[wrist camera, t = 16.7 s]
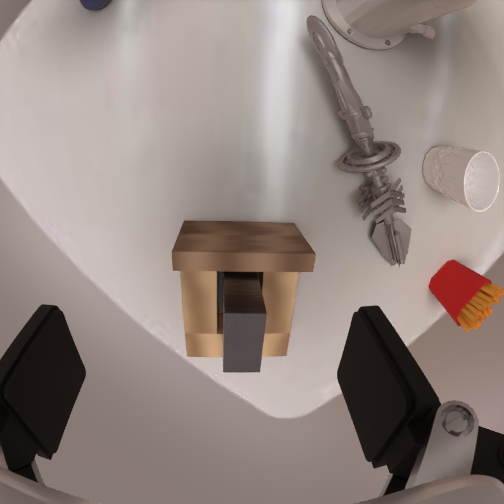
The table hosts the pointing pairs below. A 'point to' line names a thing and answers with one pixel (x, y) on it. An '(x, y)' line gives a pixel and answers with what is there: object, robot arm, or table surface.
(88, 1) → the rubber mallet
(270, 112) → the table surface
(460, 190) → the white cup
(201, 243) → the wooden frame stool
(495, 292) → the french fries
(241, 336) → the brushed grey post
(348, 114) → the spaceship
